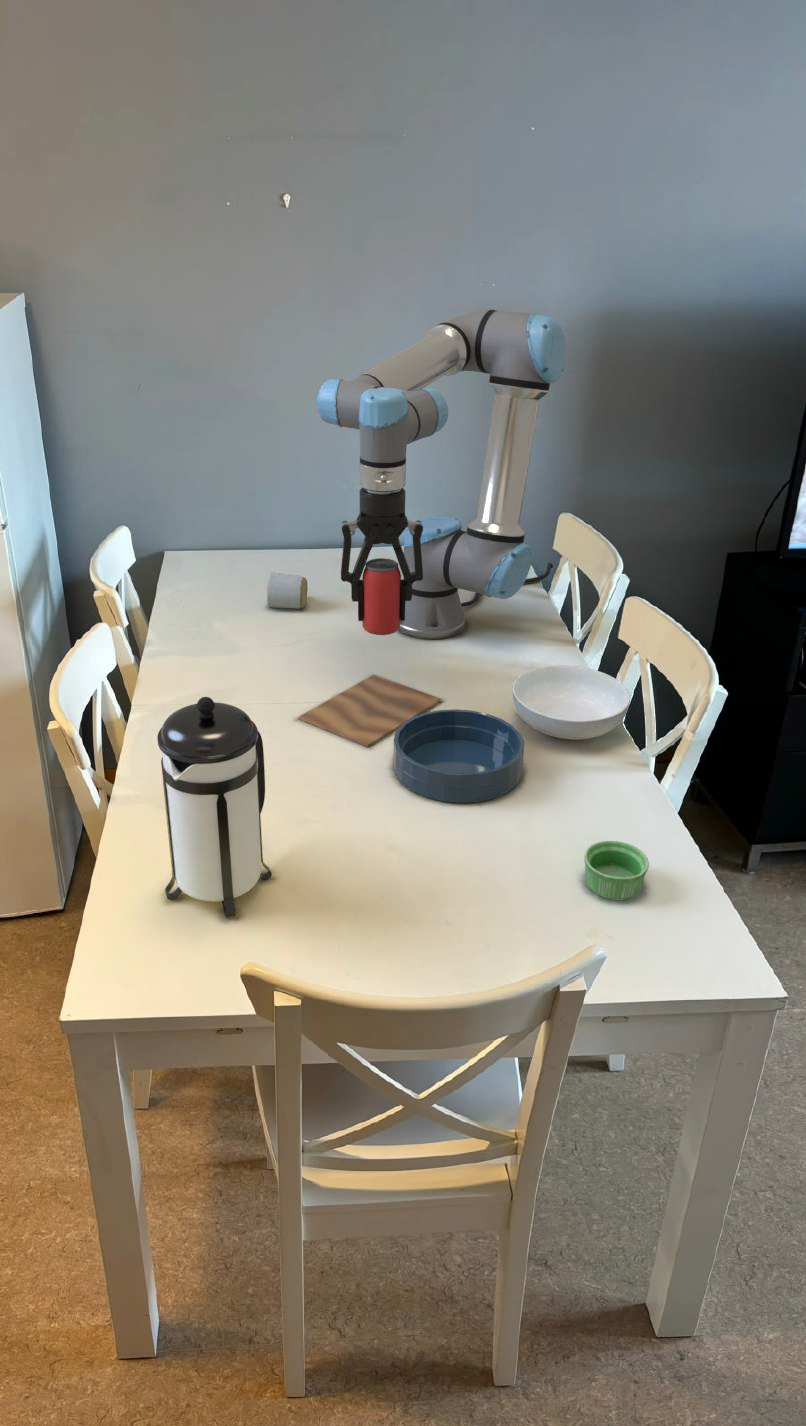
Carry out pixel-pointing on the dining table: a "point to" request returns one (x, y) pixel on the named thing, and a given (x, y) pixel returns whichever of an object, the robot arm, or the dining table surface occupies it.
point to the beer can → (381, 596)
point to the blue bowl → (458, 755)
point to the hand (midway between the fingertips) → (381, 617)
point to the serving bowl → (570, 701)
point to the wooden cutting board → (369, 710)
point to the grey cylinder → (286, 591)
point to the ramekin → (615, 869)
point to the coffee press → (213, 801)
